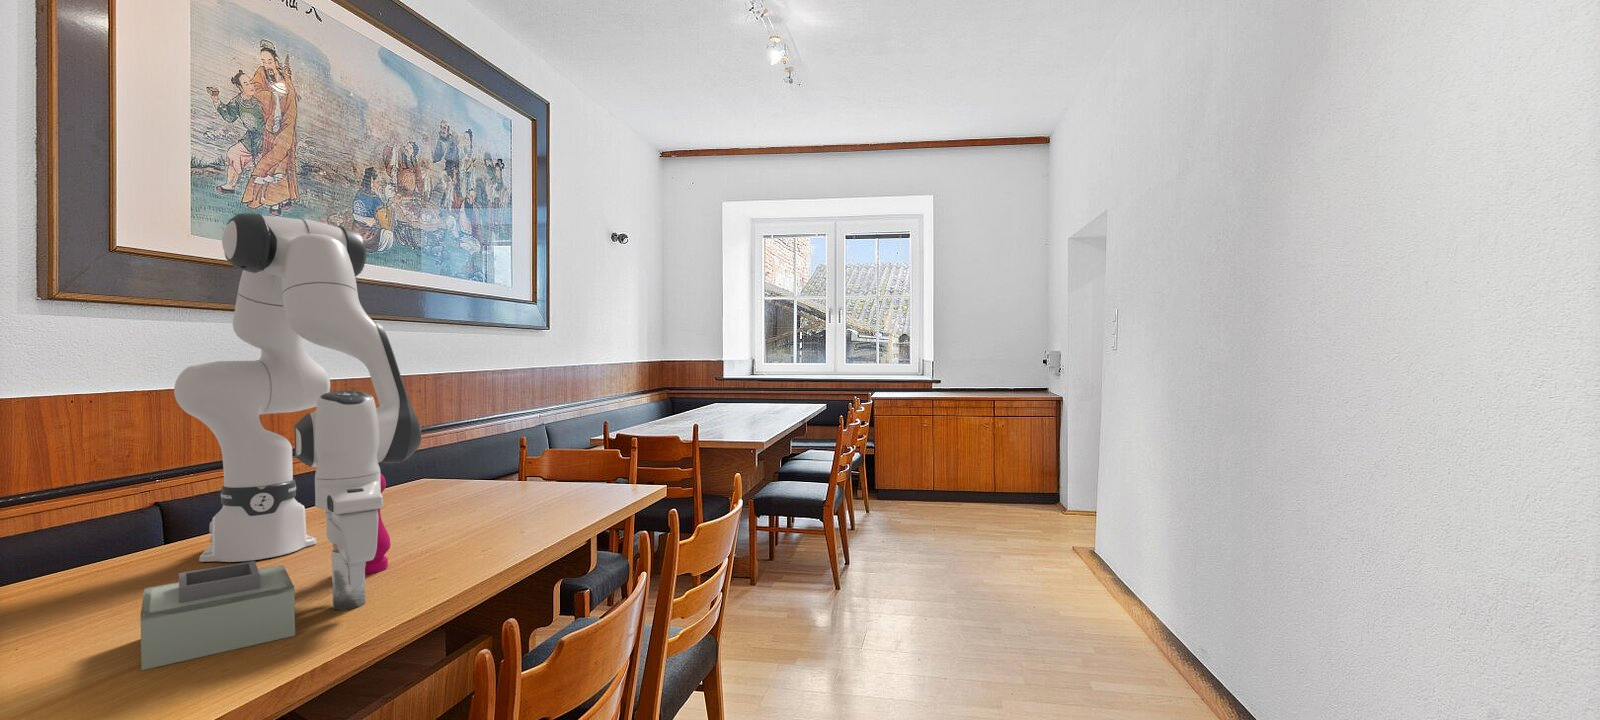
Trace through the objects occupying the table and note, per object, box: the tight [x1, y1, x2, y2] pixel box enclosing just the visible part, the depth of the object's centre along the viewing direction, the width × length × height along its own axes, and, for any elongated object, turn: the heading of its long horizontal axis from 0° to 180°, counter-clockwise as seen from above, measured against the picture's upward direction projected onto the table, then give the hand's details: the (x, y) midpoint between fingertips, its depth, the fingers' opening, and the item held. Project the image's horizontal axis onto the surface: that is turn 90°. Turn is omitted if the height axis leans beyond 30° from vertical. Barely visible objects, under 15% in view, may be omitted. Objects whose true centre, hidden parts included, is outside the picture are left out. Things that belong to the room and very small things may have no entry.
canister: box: [331, 544, 366, 611], centre depth 112 cm, size 4×4×12 cm
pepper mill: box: [365, 472, 391, 575], centre depth 130 cm, size 7×7×20 cm
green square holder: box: [139, 560, 296, 671], centre depth 100 cm, size 14×16×9 cm
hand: (350, 578), depth 112 cm, fingers open, 8 cm apart
